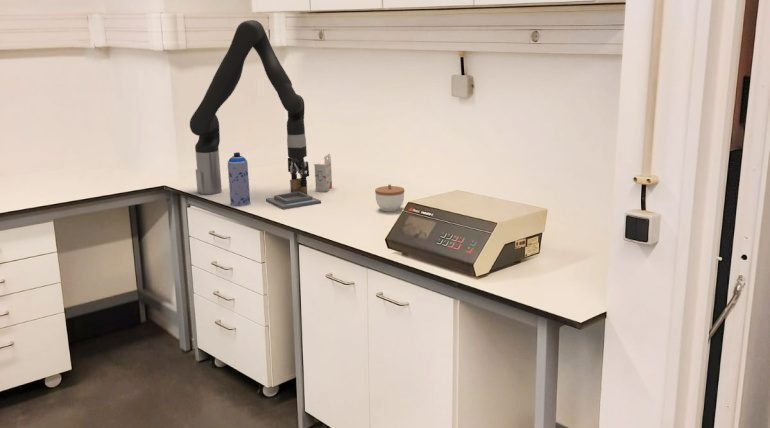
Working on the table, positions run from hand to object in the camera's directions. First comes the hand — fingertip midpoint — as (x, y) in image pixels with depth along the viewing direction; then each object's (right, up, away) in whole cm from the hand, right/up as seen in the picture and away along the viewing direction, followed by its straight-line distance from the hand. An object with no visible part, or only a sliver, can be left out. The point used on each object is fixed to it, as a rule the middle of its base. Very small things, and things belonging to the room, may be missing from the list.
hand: (299, 184), depth 289 cm
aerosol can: (-21, -8, -13) cm, 26 cm away
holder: (-1, -7, -12) cm, 14 cm away
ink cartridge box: (+9, -2, +8) cm, 13 cm away
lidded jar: (+37, -10, -25) cm, 46 cm away
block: (0, -4, +1) cm, 4 cm away
